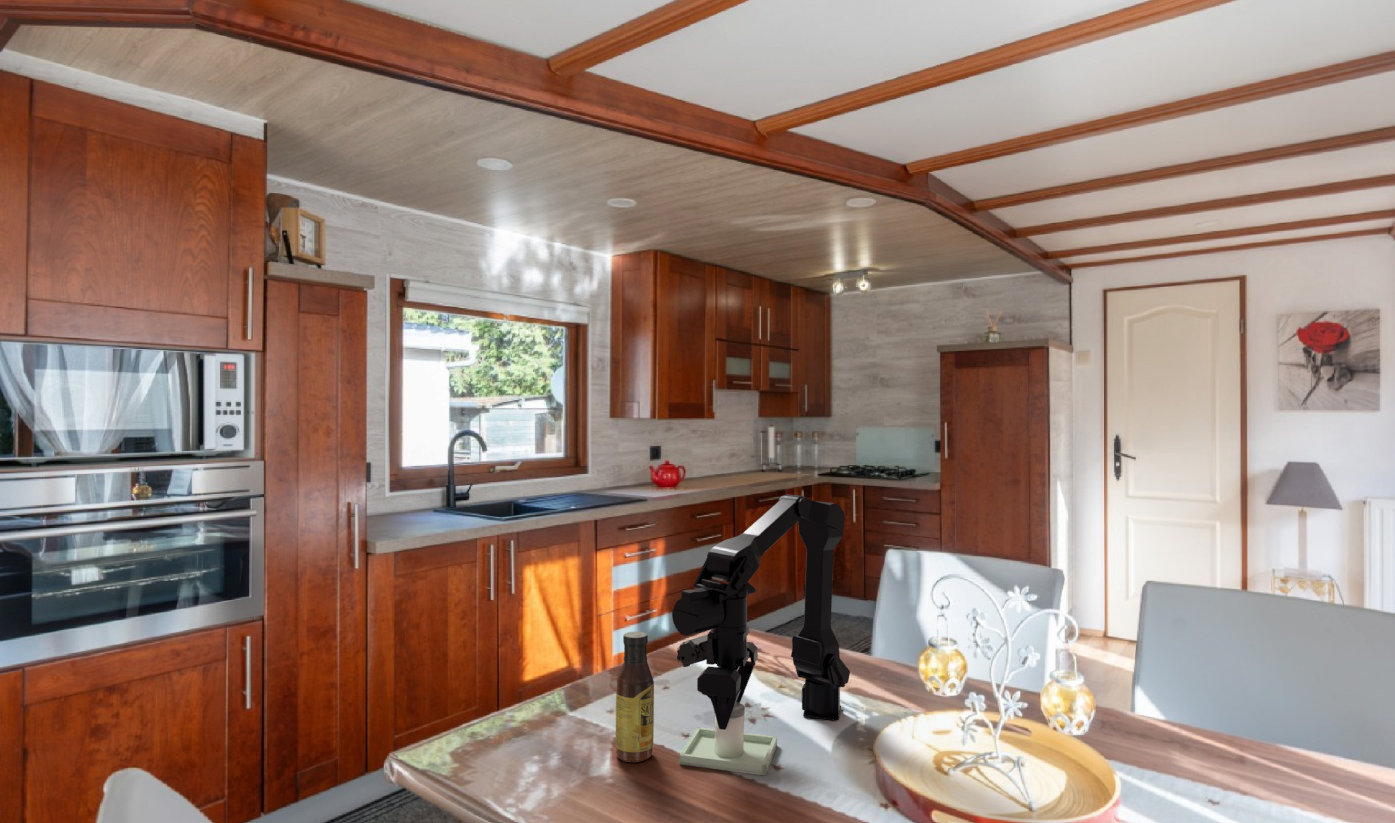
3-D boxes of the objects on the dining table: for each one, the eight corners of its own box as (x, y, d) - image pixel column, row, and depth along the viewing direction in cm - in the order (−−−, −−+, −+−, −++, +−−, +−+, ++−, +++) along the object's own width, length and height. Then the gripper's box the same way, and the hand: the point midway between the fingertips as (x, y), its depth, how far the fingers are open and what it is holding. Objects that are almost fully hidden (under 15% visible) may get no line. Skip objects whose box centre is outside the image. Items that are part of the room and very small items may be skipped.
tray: (777, 745, 129) (777, 736, 129) (765, 775, 118) (765, 765, 118) (697, 735, 132) (697, 727, 132) (679, 764, 122) (679, 754, 122)
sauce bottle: (647, 766, 121) (648, 641, 121) (610, 762, 122) (610, 639, 122) (658, 748, 127) (658, 630, 127) (622, 744, 129) (622, 627, 128)
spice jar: (747, 746, 127) (747, 703, 127) (740, 759, 122) (741, 714, 122) (718, 742, 128) (718, 699, 128) (710, 755, 123) (711, 711, 123)
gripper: (697, 605, 136) (696, 692, 136) (665, 635, 118) (665, 735, 118) (758, 610, 133) (757, 698, 133) (735, 641, 115) (735, 743, 115)
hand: (729, 717), depth 125 cm, fingers open, 9 cm apart
